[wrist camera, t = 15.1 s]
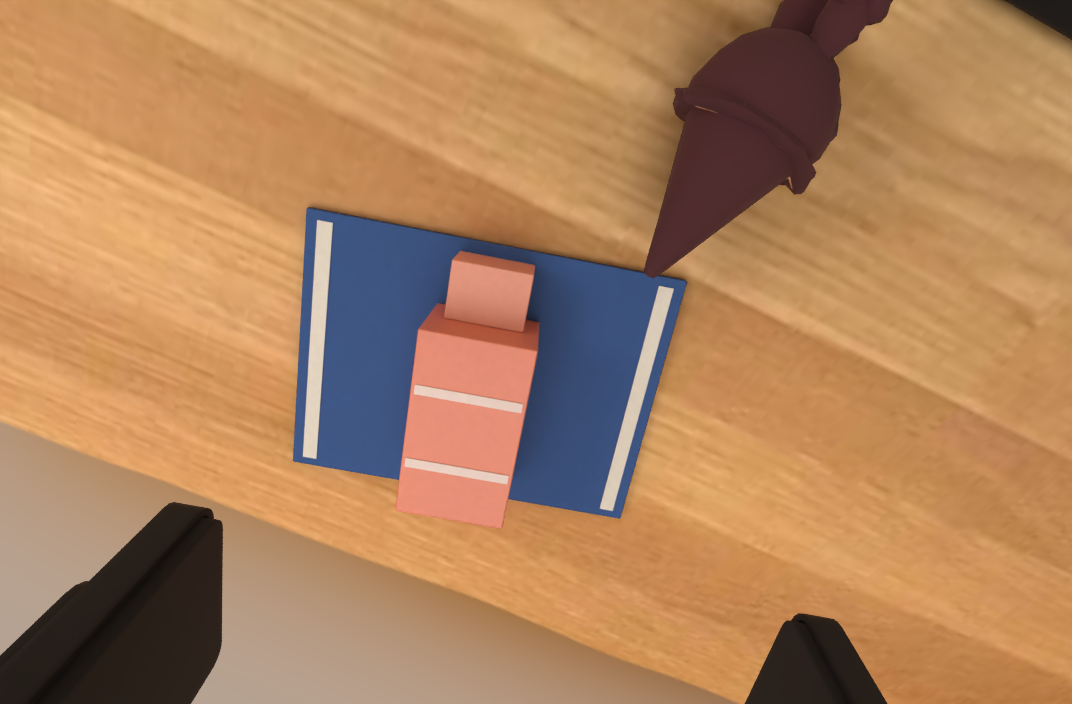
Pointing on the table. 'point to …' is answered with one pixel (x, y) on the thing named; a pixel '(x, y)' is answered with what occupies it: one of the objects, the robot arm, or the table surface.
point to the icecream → (756, 120)
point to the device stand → (1049, 13)
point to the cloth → (559, 376)
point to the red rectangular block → (470, 393)
